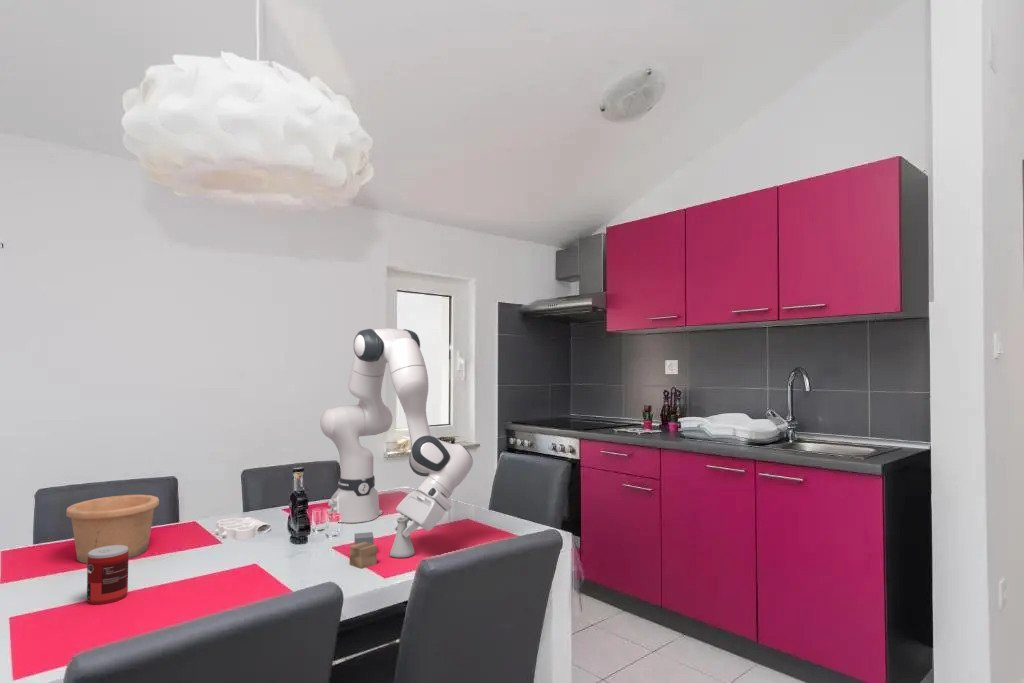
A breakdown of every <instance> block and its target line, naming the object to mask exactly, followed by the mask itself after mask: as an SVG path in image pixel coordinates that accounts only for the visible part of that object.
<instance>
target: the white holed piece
mask: <svg viewBox="0 0 1024 683" xmlns="http://www.w3.org/2000/svg"><path fill="white" fill-rule="evenodd" d="M215 523H216V524H215V529H214V530H212V532H213V533H215V534H217V536H218V537H219V536H220V537H222V538H223V539H229V540H230V539H232V540H235V541H245V540H250V539H253V538H255V536H256V535H257V534H263V533H267V532H269V531H271V529H272V525H271V524H270V523H267V522H264V521H262V520H260V519H257V518H254V517H252V516H251V517H249V516H248V517H247V516H245V517H240V518H234V517H233V518H232V517H230V518H223V519H218V520H217V521H216V522H215Z"/></svg>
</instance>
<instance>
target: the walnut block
mask: <svg viewBox="0 0 1024 683" xmlns="http://www.w3.org/2000/svg"><path fill="white" fill-rule="evenodd" d="M377 548H378V547H377V544H371V543H367V542H362V543H359V544H356V545H354V544H352V545H350V546H349V566H352V567H355V568H358V569H361V570H363V569H365V568H367V567H371V566H374V565H377V564H378V563H377V560H378V559H377V557H378V556H377V555H378V554H377V552H378V550H377Z"/></svg>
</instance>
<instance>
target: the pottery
mask: <svg viewBox="0 0 1024 683" xmlns="http://www.w3.org/2000/svg"><path fill="white" fill-rule="evenodd" d="M159 506H160V499H159V497H158V496H155V495H151V494H149V495H148V494H126V495H125V494H122V495H112V496H111V495H110V496H105V497H100V498H99V497H98V498H93V499H90V500H89V499H88V500H84V501H80V502H76V503H74V504H72V505H70V506H68V507H67V508H66V511H65V514H66V515H65V516H66V517H68V518H69V519H71V526H72V531H73V532H72V533H73V540H74V546H75V554H76V560H77V562H80V563H81V564H87V560H88V552H90V551H91V550H94V549H96V548H100V547H105V546H112V545H124V546H127V547H128V550H129V558H128V560H129V559H132V558H136V557H139V556H140V555H142V554H144V553H146V552H147V551H148V550H149V542H150V538H151V537H150V536H151V532H152V525H153V519H154V513H155V508H157V507H159Z"/></svg>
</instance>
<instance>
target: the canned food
mask: <svg viewBox="0 0 1024 683" xmlns="http://www.w3.org/2000/svg"><path fill="white" fill-rule="evenodd" d="M128 558H129V550H128V547H127V546H124V545H112V546H105V547H100V548H96V549H94V550H91V551H90V552H88V560H87V563H86V564H87V568H86V569H87V571H86V572H87V573H86V579H87V580H86V599H87V603H89V604H91V605H106V604H111V603H115V602H118V601H120V600H122V599H124V598H125V597H126V596H127V594H128V591H129V559H128Z"/></svg>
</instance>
